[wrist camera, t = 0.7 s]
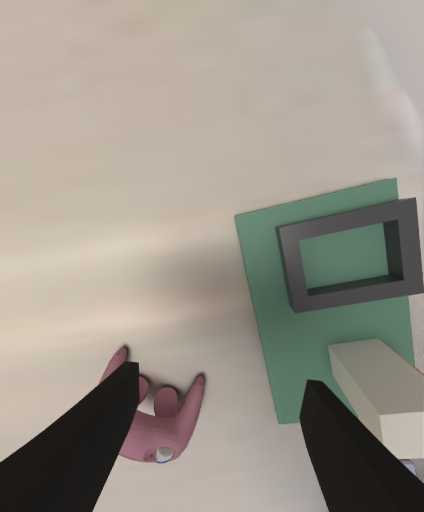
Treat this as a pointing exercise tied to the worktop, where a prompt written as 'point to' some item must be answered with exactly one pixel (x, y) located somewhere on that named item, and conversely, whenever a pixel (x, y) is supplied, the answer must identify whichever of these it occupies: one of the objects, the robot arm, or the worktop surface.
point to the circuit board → (317, 275)
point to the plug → (382, 393)
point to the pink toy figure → (160, 420)
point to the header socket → (366, 290)
